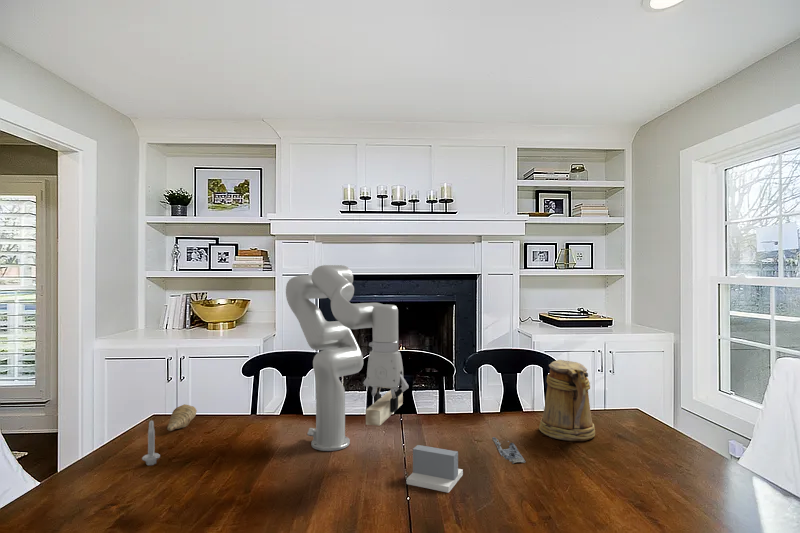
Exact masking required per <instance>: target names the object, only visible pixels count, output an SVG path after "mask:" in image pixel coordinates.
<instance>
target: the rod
mask: <svg viewBox="0 0 800 533" xmlns="http://www.w3.org/2000/svg"><path fill="white" fill-rule="evenodd" d="M403 394H404V392H402V393H401V394H400V396H399V397H398V408H397V410H398V409H399V408H401V406H402V405H403V404H404V403H403V402H404V396H403ZM391 398H392V394H391V390H388V391H387V392H386V393H385V394H384V395H381V398H380V399H379V400H377V401H376V402H375V403H374V402H373V403H372V404H371V405H369V406H368V407H367V408H365V425H367V426H378V427H379V426H381V425H383V423H384V422H386V421H387V419H389V418H390V417H391V415H393V414H395V412H393V413H392V412H390V399H391Z"/></svg>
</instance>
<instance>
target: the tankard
mask: <svg viewBox="0 0 800 533" xmlns="http://www.w3.org/2000/svg"><path fill="white" fill-rule="evenodd" d="M548 367H549V373H548V374H547V376H546V383H547V384H546V385H547V386H546V393H545V400H544V406H543V414H542V417H541V419H540V422H539V426H538V430H539V431H540V432H541V433H542V434H543V435H544V436H547V437H549V438H552V439H556V440H561V441H566V442H585V441H588V440H591V439H593V438H594V437H595V436H596V428H595V424H594V423H593V419H592V413H591V406H590V405H591V404H590V398H589V396H590V395H589V390H590V389H591V385H590V384H591V383H590V381H589V378H588V377H589V373H588V372H587V371H588V369H587V367H586V366H584V364H582V363H580V362H577V361H570V360H566V359H565V360H563V359H557V360H554V361H552V362H550V364H548Z"/></svg>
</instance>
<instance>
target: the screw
mask: <svg viewBox="0 0 800 533" xmlns="http://www.w3.org/2000/svg"><path fill="white" fill-rule="evenodd" d="M155 434H156V431H155V423H154V420H149V422H148V430H147V443H148V444H147V454H144V455H143V456H142V457H141V460H142V461H144V462H145V464H146V465H147V466H154V465H156V464H157V460H159V459H161V454H159V453H158V452H155V451H156V450H155V449H156V448H155V447H156V444H155V439H156V437H155V436H156V435H155Z"/></svg>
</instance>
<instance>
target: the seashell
mask: <svg viewBox="0 0 800 533" xmlns="http://www.w3.org/2000/svg"><path fill="white" fill-rule="evenodd" d="M197 412H198V410H197V408H196V407H195V406H192V405H189V404H181V405H180V406H177V407H176V408H174V409H173V411H172V413H171V416H170V419H169V421H168V424H167V428H166V430H168V431H170V432H172V431H174V430H179V429H182V428H186V427H188V426H189V424H190V422H191V421H192V420H193V419H194V418H195V417H196V414H197Z"/></svg>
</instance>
